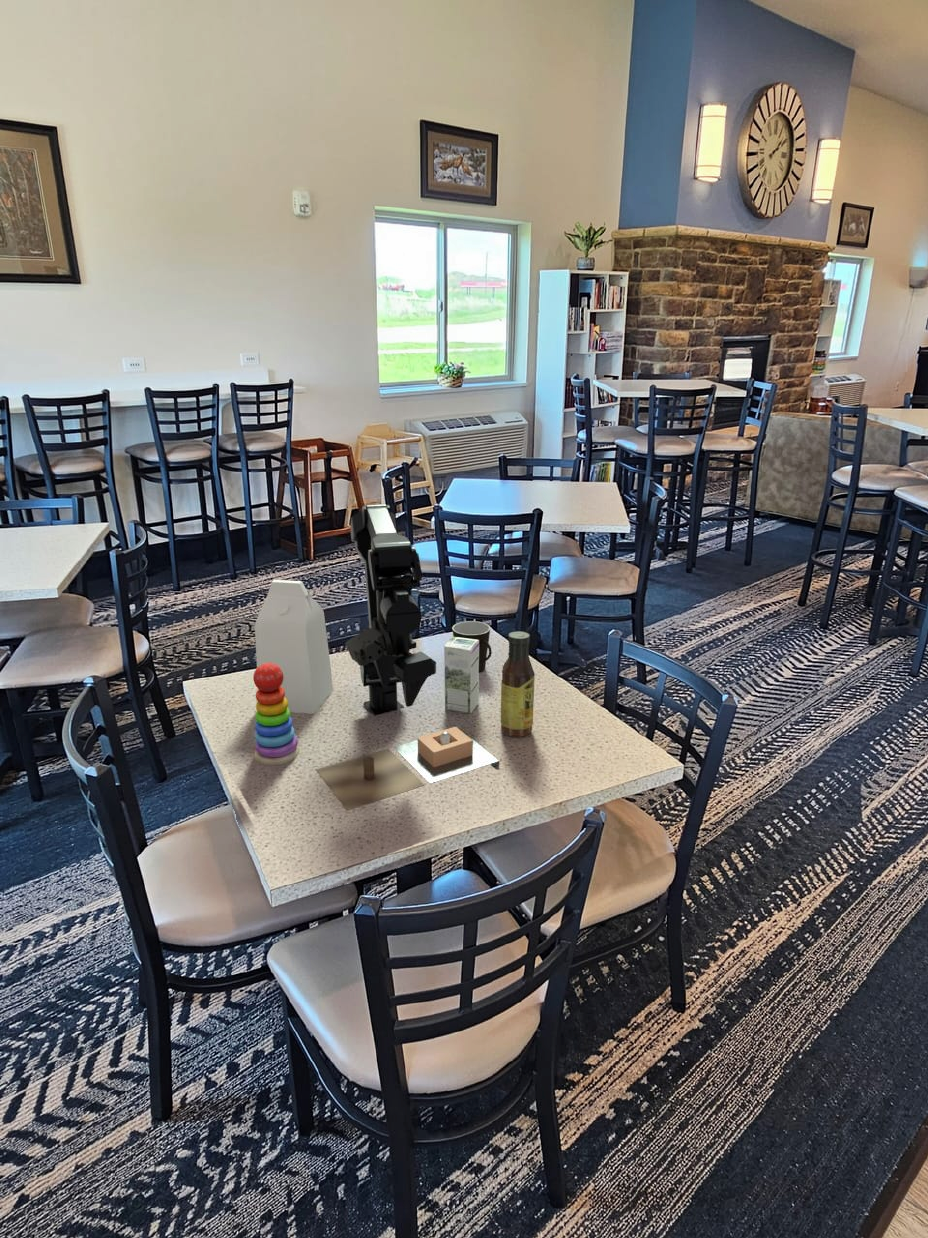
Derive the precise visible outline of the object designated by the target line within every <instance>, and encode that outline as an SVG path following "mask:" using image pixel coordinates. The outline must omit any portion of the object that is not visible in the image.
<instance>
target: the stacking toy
mask: <svg viewBox="0 0 928 1238" xmlns="http://www.w3.org/2000/svg"><path fill="white" fill-rule="evenodd" d="M283 678H284V677H283V672H282V670H281V669H280V667H278V666H277V665H275V664H272V663H265V664H262V665H260V666H259V667H258V668H257V667H256V669H255V671H254V673H253V678H252V679H253V683H254V685H255V687H256V688H257V690H256V692H255V699H256V701H257V702H256V704H255V708H256V712H255V715H254V716H255V718H254V719H255V723H254V729H255V732H254V739H255V745H254V747H255V751H254V755H253V756H254V759H255V761H257V762H258V763H259V764H263V765H267V766H268V765H269V766H271V765H272V766H275V765H281V764H285V763H288V762H291V761H293V760H294V759H295V758H297V757H298V755H299V754H300V751H301V749H300V746H299V745H298V744H299V739H298V737H297V736H296V734H295V729H294V727H293V719H292V717H291V712H290V710H289V709H288V701H287V699H286V698H285V691H284V689H283V688H282V687H281V685H282V682H283Z"/></svg>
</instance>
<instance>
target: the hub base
mask: <svg viewBox="0 0 928 1238" xmlns="http://www.w3.org/2000/svg"><path fill="white" fill-rule="evenodd" d="M457 728H458V727H457ZM458 729H459V730H461V731H462V732H463V733H464V734H466V735H467V736H468V737H469V738H470V739H472V740H473V755H472V756H468V757H465V758H462V759H459V760H456V761H453V762H450V763H446V764H443V765H440V766H437V767H433V766H432V765H431V764H430V763H429V762H428V761H427V760H426V759H424V758H423V757H422V756H421V755H420V754H419V753H418V739H417V740H416V739H415V740H413V741H410V742H406V743H403V744H399V745H396V746H393V748H394V749H395V751H397V753H399V754H400V755H401V757H403V758H404V759H405V760H406V761H407V763H409V764H410V765H411V767H413V768H414V770H416V771H417V773H419V774H420V775H421V776H422V777H423V778H424V780H425V781H427V783H429V784H433V783H436V782H439V781H442V780H446V779H449V778H452V777H455V776H457V775H461V774H465V773H467V772H470V771H472V770H473V771H474V770H476V769H479V768H482V767H485V766H488V765H490V766H491V767H492V768H496V767H500V760H499V758H498V759H497V758H496V757H495V756H494V755H493V754H491V752H489V751H488V750H486V749H485V748H484V747H483V746H482V745H480V744H479V743H478V742H477V741H476V740H474V739H473V738H472V737H471V736H470V735H468V733H466V732H465V731H464V730H462V728H460V727H459V728H458ZM449 743H450V734H449V733H448V732H443V733H442V734H441V735H440V745H441V746H442V745H446V744H449Z"/></svg>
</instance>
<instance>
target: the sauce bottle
mask: <svg viewBox="0 0 928 1238" xmlns="http://www.w3.org/2000/svg"><path fill="white" fill-rule="evenodd" d="M507 639H508V640H507V641H508V653H507V654H508V658H507V659H506V661H504V664H503V666H502V669H501V674H502V675H501V683H500V685H501V687H500V688H501V689H500V691H501V693H500V694H501V695H500V724H501V725H500V729H501V731H502V733H503V734H505V735H506V736H509V737H515V738H521V737H522V738H523V737H525V736H528V735H529V734H530V733H531V732H532V730H533V724H534V706H535V705H534V704H535V703H534V701H535V700H534V699H535V670H534V669H533V666H532V662H531V660H530V653H529V649H530V642H531V635H530V634H529V633H528V632H525V631H512V632H509V633H508V636H507Z"/></svg>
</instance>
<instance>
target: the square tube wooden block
mask: <svg viewBox="0 0 928 1238" xmlns="http://www.w3.org/2000/svg"><path fill="white" fill-rule="evenodd" d="M461 730H462V729H461ZM461 730H459V729H458V727H457V726H453V727H450V728H447V729H443V730H439V731H436V732H432V733H429V734H426V735H422V736H419V737H417V740H418V753H419V754H420V755H421V756H422V757H423V758H424V759H426V760H427V761H428V762H429V763H430V764H431V765H432V766H433V767H437V766H440V765H443V764H446V763H450V762H453V761H456V760H459V759H462V758H465V757H468V756H472V755H473V740H474V739H473V738H472V739H473V740H472V739H470V738H469V737H468V736H469V735H468V734H467V733H466V734H467V735H468V736H467V735H466V734H464V733H463V732H464V731H463V730H462V731H463V732H462V731H461ZM443 732H448V733H449V734H450V743H449V744H446V745H442V746H441V745H440V735H441V734H442V733H443Z"/></svg>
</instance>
